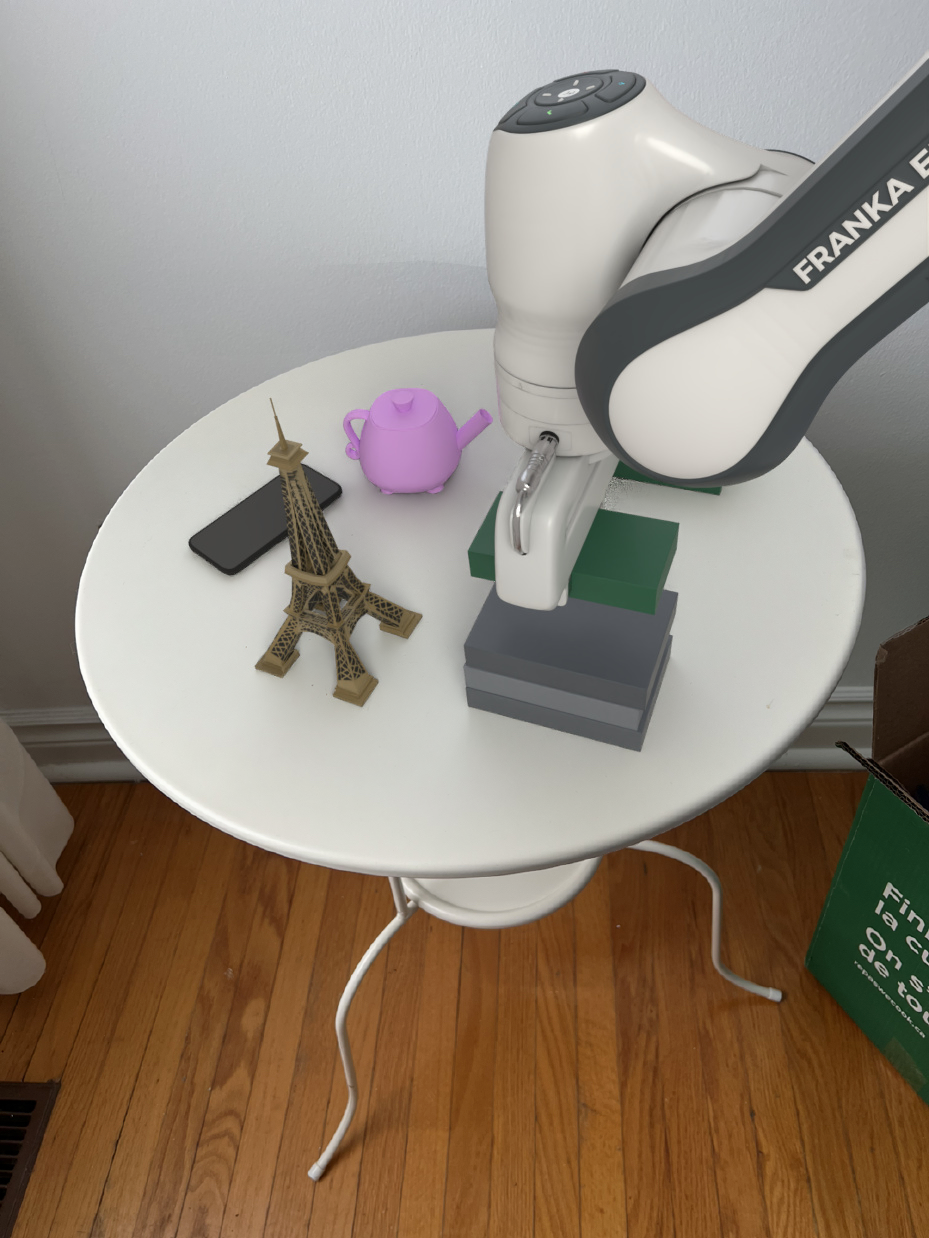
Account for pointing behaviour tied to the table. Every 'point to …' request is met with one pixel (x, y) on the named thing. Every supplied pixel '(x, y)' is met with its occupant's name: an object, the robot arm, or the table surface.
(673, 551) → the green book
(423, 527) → the table surface
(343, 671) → the eiffel tower
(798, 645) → the table surface
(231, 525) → the smartphone
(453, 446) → the teapot
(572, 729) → the grey stack
